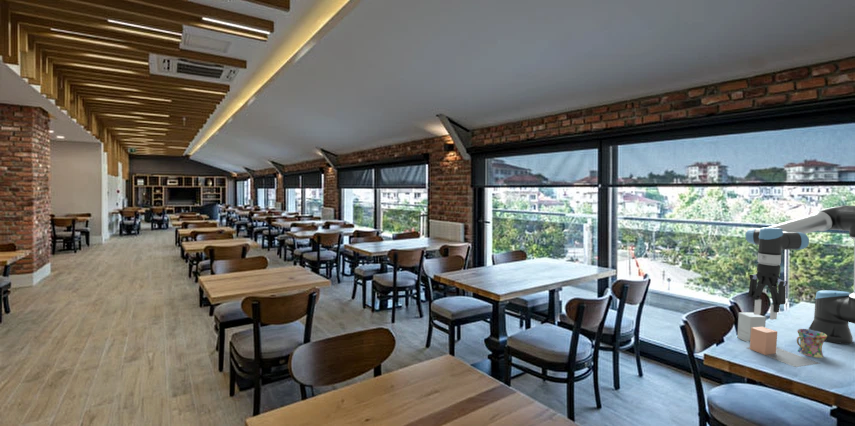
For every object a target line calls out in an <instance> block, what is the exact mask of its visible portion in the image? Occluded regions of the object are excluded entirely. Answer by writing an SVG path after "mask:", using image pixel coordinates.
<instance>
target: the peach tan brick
mask: <svg viewBox="0 0 855 426" xmlns="http://www.w3.org/2000/svg"><path fill="white" fill-rule="evenodd" d="M777 341H778V331H776V330H773V329H771V328H768V327H766V326H765V327H753V328H751V338H750V341H749V347H750V349H751V350H750V349H749V350H750V351H753V350H754V351H753V352H755V351H756V353H758V352H759V353H758V354H760V353H761V354H760V355H763V354H764V356H765V355H768V354H775V353H776V347H777Z"/></svg>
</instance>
